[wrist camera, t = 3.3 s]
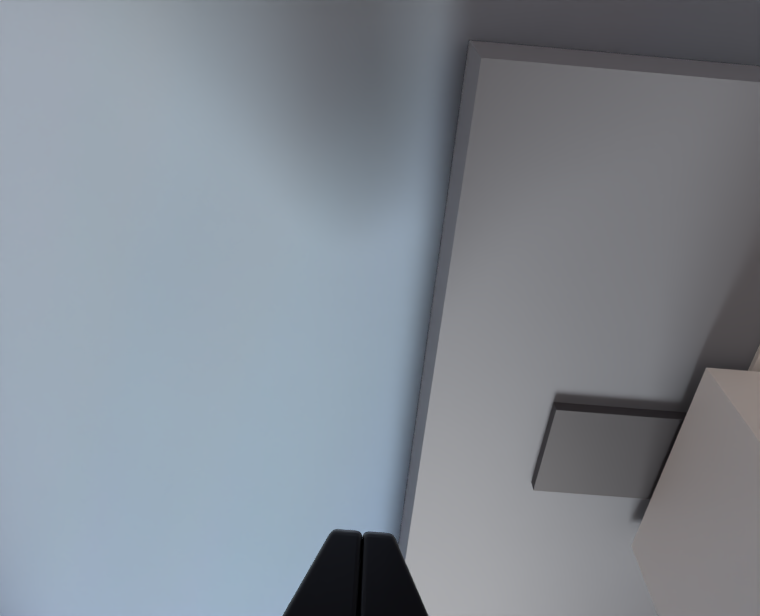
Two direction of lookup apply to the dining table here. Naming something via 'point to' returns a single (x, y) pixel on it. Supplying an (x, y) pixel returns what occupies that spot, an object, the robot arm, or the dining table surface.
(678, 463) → the block
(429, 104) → the dining table surface
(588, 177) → the console board
